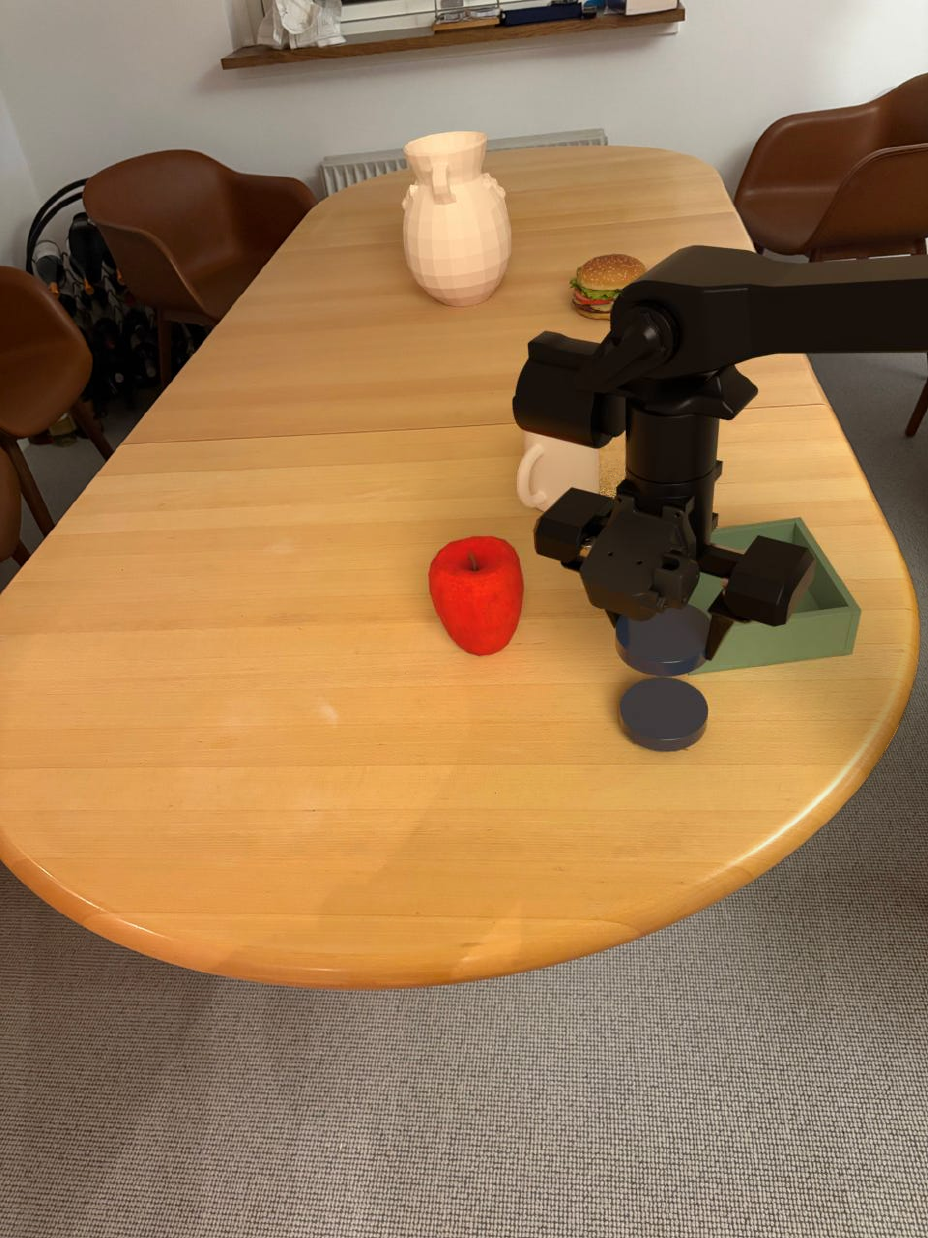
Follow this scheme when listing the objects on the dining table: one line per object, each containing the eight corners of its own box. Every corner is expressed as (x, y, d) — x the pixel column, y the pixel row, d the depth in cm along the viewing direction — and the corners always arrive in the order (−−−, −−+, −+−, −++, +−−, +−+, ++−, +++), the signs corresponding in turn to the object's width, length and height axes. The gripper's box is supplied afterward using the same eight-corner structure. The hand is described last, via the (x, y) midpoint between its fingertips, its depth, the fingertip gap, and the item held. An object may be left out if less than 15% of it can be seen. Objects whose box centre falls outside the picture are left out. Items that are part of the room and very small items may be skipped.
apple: (478, 600, 90) (466, 512, 83) (547, 630, 86) (541, 539, 79) (421, 650, 85) (403, 561, 79) (492, 684, 81) (479, 592, 74)
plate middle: (693, 692, 77) (695, 671, 75) (717, 754, 72) (719, 733, 70) (611, 702, 77) (611, 682, 76) (629, 765, 72) (629, 745, 70)
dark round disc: (696, 617, 70) (697, 592, 68) (724, 679, 64) (726, 654, 63) (606, 630, 70) (606, 606, 68) (626, 693, 65) (627, 668, 63)
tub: (794, 558, 90) (800, 516, 86) (852, 654, 78) (862, 610, 75) (651, 577, 90) (652, 536, 87) (688, 675, 79) (691, 633, 75)
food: (671, 312, 140) (673, 261, 135) (587, 330, 139) (586, 279, 134) (638, 285, 151) (639, 236, 146) (560, 301, 149) (558, 252, 144)
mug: (550, 541, 97) (545, 459, 90) (494, 518, 101) (484, 439, 95) (614, 490, 103) (613, 410, 96) (557, 471, 108) (553, 393, 101)
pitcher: (426, 279, 165) (404, 131, 149) (523, 274, 161) (512, 121, 145) (401, 319, 151) (374, 160, 135) (506, 315, 147) (492, 151, 131)
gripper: (480, 489, 57) (502, 665, 67) (766, 568, 47) (741, 759, 57) (568, 413, 63) (575, 584, 73) (834, 468, 54) (801, 656, 64)
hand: (663, 641), depth 67 cm, fingers closed on dark round disc, 7 cm apart
